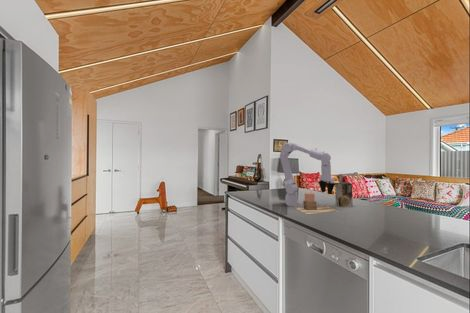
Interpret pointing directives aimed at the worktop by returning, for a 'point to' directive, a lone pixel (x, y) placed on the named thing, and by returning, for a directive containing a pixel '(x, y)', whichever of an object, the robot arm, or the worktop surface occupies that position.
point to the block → (309, 197)
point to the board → (319, 210)
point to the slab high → (309, 203)
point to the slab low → (310, 207)
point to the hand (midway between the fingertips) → (326, 193)
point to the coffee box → (343, 194)
